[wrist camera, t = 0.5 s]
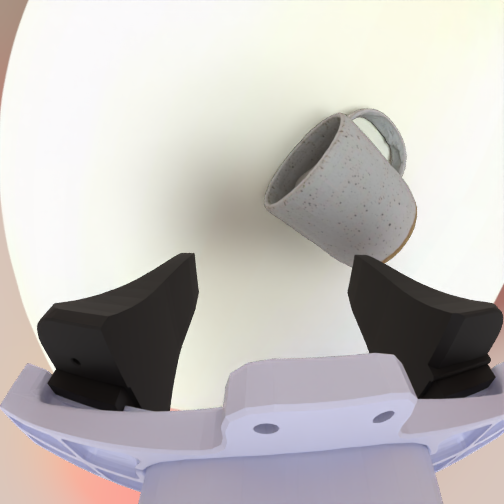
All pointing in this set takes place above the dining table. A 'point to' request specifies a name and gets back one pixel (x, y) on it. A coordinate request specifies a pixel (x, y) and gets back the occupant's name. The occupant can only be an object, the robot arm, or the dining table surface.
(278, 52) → the dining table surface
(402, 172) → the ceramic mug
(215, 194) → the dining table surface
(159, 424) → the robot arm
